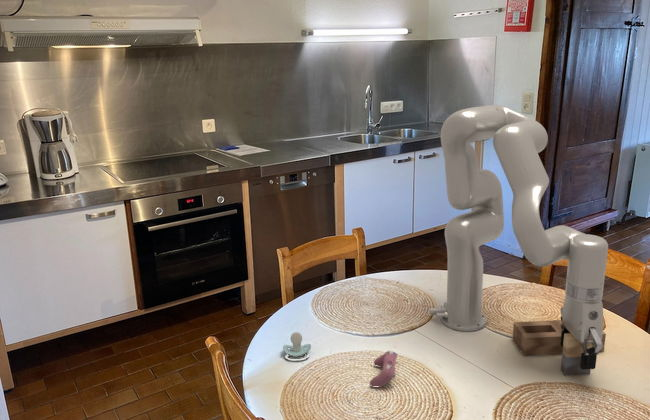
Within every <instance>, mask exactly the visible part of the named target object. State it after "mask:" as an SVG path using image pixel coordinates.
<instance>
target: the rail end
mask: <svg viewBox="0 0 650 420" xmlns="http://www.w3.org/2000/svg"><path fill="white" fill-rule="evenodd" d="M585 340H591V337H590V338H586V339H585ZM591 347H592V344H591V343H587V348H588V349H589V348H591ZM582 353H584V352H583V348H582V343H581V342H579V341H578V340H577V339H576V338H575V337H574V336H573V335H572V334H571V333H565V334H564V342H563V353H562V354H561V366H560V372H561V373H562V375H563V376H564V377H573V376H586V375H588V376H589V375H591V371H592V369H586V370H582V369H581V368H580V363H581V354H582Z"/></svg>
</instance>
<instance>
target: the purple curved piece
mask: <svg viewBox="0 0 650 420" xmlns="http://www.w3.org/2000/svg"><path fill="white" fill-rule="evenodd" d="M397 358H398V353H396V352H394V351H390V350H387V351H386V352H385V353H383V354H381V355H380V356H378V357H376V358H375V360H373V361H374V362H373V365H374V364H375V365H378V366H383V367H382V371H381V372H380V373H378V374H377V375H376V376H374V377H373V378H371V380H370V382H369V385H370V386H371V385H372V386H381V387H383V386H384V385H386V384H387V383H389V382H391V380H392V379H394V378H395V379H396V376H397V373H395V371H396V367H395V366H396V361H397ZM375 365H374V366H375ZM372 386H371V387H372Z"/></svg>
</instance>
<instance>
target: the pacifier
mask: <svg viewBox="0 0 650 420" xmlns="http://www.w3.org/2000/svg"><path fill="white" fill-rule="evenodd" d="M290 341H291V344H292V345H290V344H283V346H282V351H283V352H284V353H285V355H286V354H288V355H290V357H292V356H301V355H303V356H301V358H303V357H307V355H308V354H309V353H308V352H309V351H310V350H311V348H312V344H310V343H306V344H303V345H302V342H303V335H302V334H301V333H300V332H298V331H294V332H293V333H292V334H291V335H290ZM307 353H308V354H307ZM304 354H306V356H305V355H304Z"/></svg>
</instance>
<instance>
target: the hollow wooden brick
mask: <svg viewBox="0 0 650 420" xmlns="http://www.w3.org/2000/svg"><path fill="white" fill-rule="evenodd" d="M561 325H562V321H561V319H556V320H555V319H553V320H536V321H535V320H534V321H533V320H532V321H531V320H530V321H513V328H512V341H513V342H514V343H515V345H516V346H517V348H518V349H519V351H520V352H521V353H522V355H523V356H524V357H529V356H546V355H548V356H549V355H562V353H563V346H561V344H560V343H561V332H562V331H563V330H562V329H561ZM606 335H607V333H605V331H603V333H602V341H601V342H602V344H603V347H602V349H601V351H600V353H604V352H605V344H606Z"/></svg>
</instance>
